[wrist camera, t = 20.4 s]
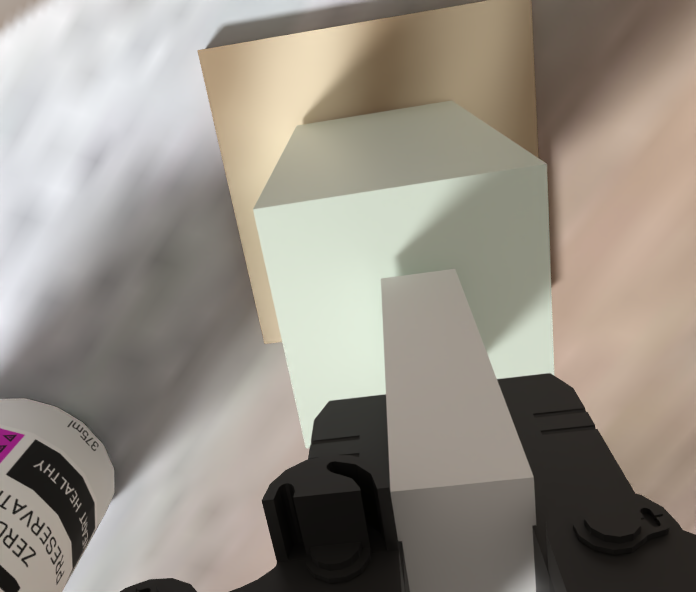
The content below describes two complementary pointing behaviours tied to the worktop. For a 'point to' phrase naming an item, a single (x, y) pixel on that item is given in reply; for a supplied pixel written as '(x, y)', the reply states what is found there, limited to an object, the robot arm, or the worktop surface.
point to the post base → (362, 92)
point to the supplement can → (47, 494)
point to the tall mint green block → (402, 242)
